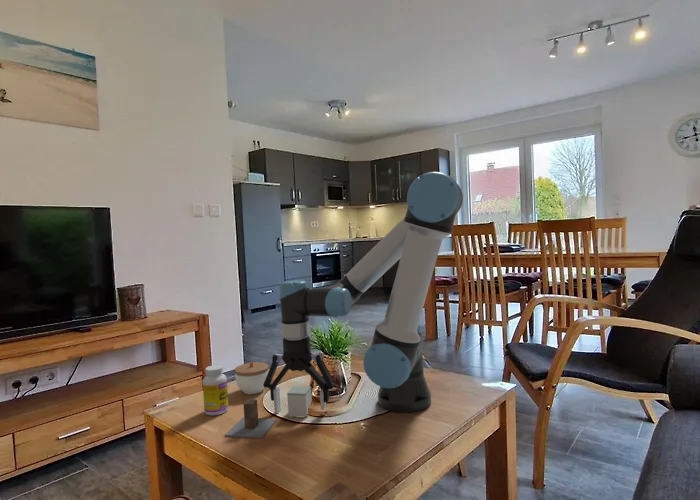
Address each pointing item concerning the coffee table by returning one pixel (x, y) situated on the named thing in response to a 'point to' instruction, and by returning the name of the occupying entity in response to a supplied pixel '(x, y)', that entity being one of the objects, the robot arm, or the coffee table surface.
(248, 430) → the coaster
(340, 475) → the coffee table surface
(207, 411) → the supplement bottle
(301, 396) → the pale grey block
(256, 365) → the lidded jar
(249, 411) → the post
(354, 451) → the coffee table surface
